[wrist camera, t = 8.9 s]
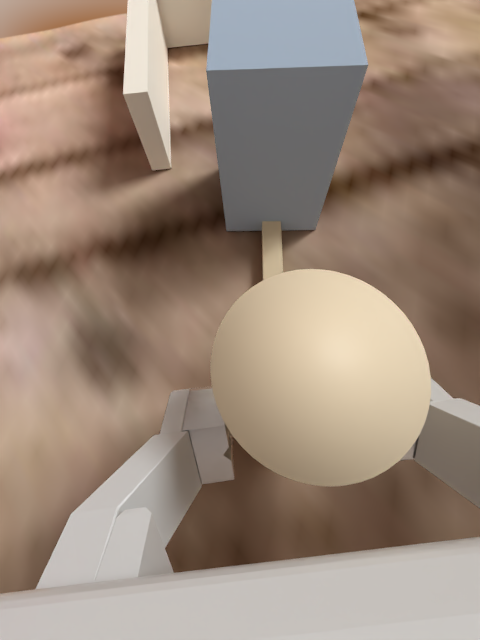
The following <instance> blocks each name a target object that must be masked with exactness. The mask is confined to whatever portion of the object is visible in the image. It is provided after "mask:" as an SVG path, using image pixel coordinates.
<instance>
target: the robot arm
mask: <svg viewBox="0 0 480 640" xmlns="http://www.w3.org/2000/svg"><path fill="white" fill-rule="evenodd" d="M232 445H233V435H232V434H231V433H230V431H229V429H228V428H227V426H226V424H225V423H224V421H223V419H222V417H221V414H220V412H219V410H218V407H217V405H216V401H215V398H214V394H213V390H212V386H211V387H201V388H191V389H182V390H174V391H172V392H171V394H170V397H169V400H168V404H167V408H166V412H165V415H164V419H163V423H162V427H161V430H160V434H158V435H153V436H152V437H151V438H150V439H149V440H148V441H147V442H146V443H145V444H144V445H143V446H142V447H141V448H140V449H139V450H138V451H137V452H136V453H134V454H133V455H132V456H131V457H130V458H129V459H128V460H127V461H126V462H125V463H124V464H123V465H122V466H121V467H120V468H119V469H118V470H117V471H116V472H115V473H113V474H112V475H111V476H110V477H109V478H108V479H107V480H106V481H105V482H104V483H103V484H102V485H101V486H100V487H99V488H98V489H97V490H96V491H95V492H94V493H92V494H91V495H90V496H89V497H88V498H87V499H86V500H85V501H84V502H83V503H82V504H81V505H80V506H79V507H78V508H77V509H76V510H75V511H74V512H73V513H71V515H70V517H69V519H68V521H67V524H66V526H65V528H64V530H63V532H62V534H61V536H60V538H59V540H58V543H57V545H56V547H55V549H54V551H53V553H52V555H51V557H50V559H49V562H48V564H47V566H46V568H45V570H44V572H43V574H42V576H41V578H40V581H39V583H38V585H37V587H36V589H34V590H25V591H17V592H9V593H0V640H480V537H474V538H465V539H457V540H448V541H440V542H431V543H423V544H414V545H406V546H397V547H389V548H380V549H372V550H363V551H355V552H346V553H338V554H329V555H321V556H312V557H304V558H296V559H287V560H279V561H270V562H262V563H253V564H245V565H236V566H228V567H219V568H211V569H203V570H194V571H186V572H177V573H174V571H173V569H172V566H171V563H170V561H169V558H168V555H167V553H166V550H165V547H166V546H167V544H168V542H169V541H170V539H171V537H172V536H173V534H174V532H175V531H176V529H177V527H178V525H179V524H180V522H181V520H182V519H183V517H184V515H185V514H186V512H187V510H188V509H189V507H190V505H191V504H192V502H193V500H194V499H195V497H196V495H197V494H198V492H199V490H200V489H201V487H202V485H201V484H208V483H215V482H221V481H228V480H234V455H233V449H232ZM408 459H415V460H414V461H416V462H417V463H418V464H420V465H421V466H422V467H424V468H425V469H427V470H428V471H429V472H431V473H432V474H433V475H435V476H436V477H437V478H439V479H440V480H442V481H443V482H444V483H446V484H447V485H448V486H450V487H451V488H453V489H454V490H455V491H457V492H458V493H459V494H461V495H462V496H464V497H465V498H466V499H468V500H469V501H470V502H472V503H473V504H474V505H476V506H477V507H479V508H480V406H479V405H476V404H474V403H471V402H469V401H466V400H464V399H461V398H456V399H454V398H452V397H451V396H450V395H449V394H448V393H447V392H446V391H445V390H444V389H443V388H442V387H440V386H439V385H438V384H437V383H436V382H435V381H434V380H433V379H432V378H431V397H430V405H429V410H428V414H427V417H426V421H425V424H424V426H423V428H422V430H421V432H420V435H419V436H418V438H417V439H416V441H415V443H414V444H413V446H412V447H411V449H410V450H409V451H408V452H407V453H406V454H405V455H404V456H403V457H402V458H401V460H408Z"/></svg>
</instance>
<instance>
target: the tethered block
mask: <svg viewBox="0 0 480 640" xmlns="http://www.w3.org/2000/svg"><path fill="white" fill-rule="evenodd" d="M367 67H368V62H367V57H366V53H365V48H364V44H363V39H362V35H361V30H360V26H359V21H358V16H357V12H356V7H355V3H354V0H212V5H211V18H210V31H209V43H208V56H207V69H206V72H207V80H208V88H209V96H210V104H211V111H212V119H213V127H214V135H215V143H216V151H217V159H218V167H219V175H220V183H221V191H222V199H223V207H224V215H225V223H226V230H227V231H262V273H263V281H261V282H260V283H258V284H256V285H255V286H253V287H251V288H250V289H249V290H248V291H246V292H245V293H244V294H243V295H242V296H241V297H240V298H239V299H238V300H237V301H236V302H235V303H234V304H233V305H232V307H231V308H230V309H229V311H228V312H227V313H226V315H225V317H224V318H223V320H222V322H221V324H220V326H219V328H218V331H217V334H216V336H215V340H214V344H213V348H212V354H211V362H210V370H211V383H212V390H213V394H214V398H215V401H216V405H217V407H218V410H219V412H220V414H221V417H222V419H223V421H224V423H225V424H226V426H227V428H228V429H229V431H230V433H231V434H232V435H233V437H234V438H235V439H236V440H237V442H238V443H239V444H240V445H241V447H242V448H244V449H245V450H246V451H247V452H248V453H249V454H250V455H251V456H252V457H253V458H254V459H255V460H257V461H258V462H259V463H261V464H262V465H263V466H265V467H266V468H268V469H270V470H272V471H274V472H275V473H277V474H279V475H281V476H283V477H286V478H289V479H291V480H294V481H297V482H301V483H305V484H309V485H316V486H327V487H330V486H345V485H350V484H355V483H360V482H363V481H365V480H368V479H371V478H373V477H376V476H377V475H379V474H381V473H383V472H384V471H386V470H388V469H389V468H391V467H392V466H393V465H394V464H396V463H397V462H398V461H399V460H401V458H402V457H403V456H404V455H405V454H406V453H407V452H408V451H409V450H410V449H411V447H412V446H413V444H414V443H415V441H416V439H417V438H418V436H419V435H420V432H421V430H422V428H423V426H424V424H425V421H426V417H427V414H428V410H429V405H430V397H431V376H430V369H429V363H428V360H427V356H426V353H425V349H424V347H423V345H422V342H421V340H420V338H419V336H418V334H417V332H416V330H415V329H414V327H413V325H412V324H411V322H410V321H409V320H408V318H407V317H406V316H405V314H404V313H403V312H402V311H401V310H400V309H399V308H398V307H397V305H396V304H395V303H394V302H392V301H391V300H390V299H389V298H388V297H387V296H385V295H384V294H383V293H382V292H380V291H379V290H377V289H376V288H374V287H373V286H371V285H369V284H367V283H365V282H363V281H362V280H359V279H357V278H354V277H352V276H349V275H346V274H343V273H339V272H335V271H329V270H322V269H302V270H294V271H288V272H284V273H283V259H282V237H281V230H315V229H316V226H317V223H318V220H319V216H320V213H321V210H322V207H323V204H324V201H325V198H326V195H327V191H328V188H329V185H330V182H331V179H332V176H333V173H334V170H335V167H336V163H337V160H338V157H339V154H340V151H341V148H342V145H343V142H344V139H345V135H346V132H347V129H348V126H349V123H350V120H351V117H352V114H353V111H354V107H355V104H356V101H357V98H358V95H359V92H360V89H361V86H362V83H363V79H364V76H365V73H366V70H367Z"/></svg>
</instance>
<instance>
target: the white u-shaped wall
mask: <svg viewBox="0 0 480 640" xmlns="http://www.w3.org/2000/svg"><path fill="white" fill-rule="evenodd" d="M211 5H212V0H128V9H127V28H126V47H125V66H124V85H123V95H124V98H125V101H126V103H127V106H128V108H129V111H130V114H131V116H132V119H133V122H134V124H135V127H136V129H137V132H138V135H139V137H140V140H141V142H142V145H143V148H144V150H145V153H146V155H147V158H148V161H149V163H150V166H151V168H152V170H160V169H170V168H171V145H170V112H169V78H168V48H172V47H181V46H190V45H199V44H208V43H209V31H210V18H211Z"/></svg>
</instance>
